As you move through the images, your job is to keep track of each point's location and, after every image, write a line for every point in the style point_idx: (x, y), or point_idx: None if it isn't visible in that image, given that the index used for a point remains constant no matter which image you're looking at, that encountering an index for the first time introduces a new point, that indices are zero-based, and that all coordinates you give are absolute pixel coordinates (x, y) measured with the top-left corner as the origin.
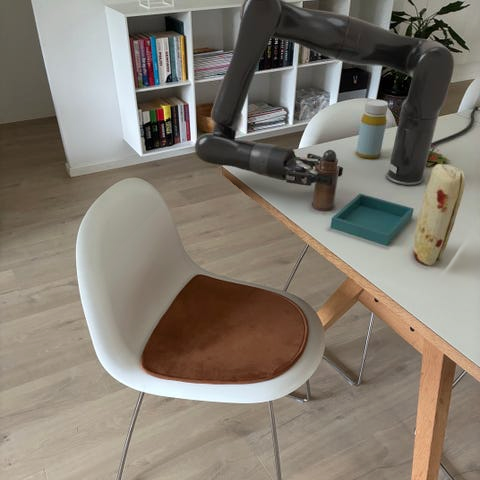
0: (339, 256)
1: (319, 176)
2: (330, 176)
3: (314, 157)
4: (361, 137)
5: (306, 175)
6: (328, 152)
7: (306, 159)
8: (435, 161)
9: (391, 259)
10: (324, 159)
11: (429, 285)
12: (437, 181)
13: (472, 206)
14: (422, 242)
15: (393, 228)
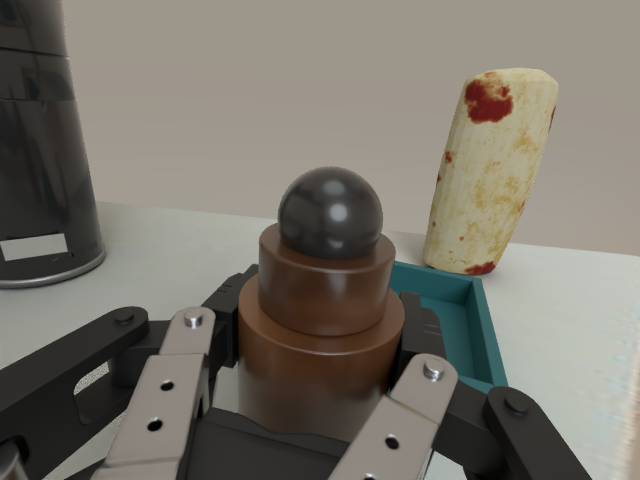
0: (629, 400)
1: (440, 356)
2: (419, 300)
3: (14, 408)
4: None
5: (559, 435)
6: (365, 182)
7: (176, 459)
8: None
9: (510, 304)
10: (368, 249)
11: (539, 270)
12: (552, 92)
13: (222, 215)
14: (512, 229)
15: (438, 271)
